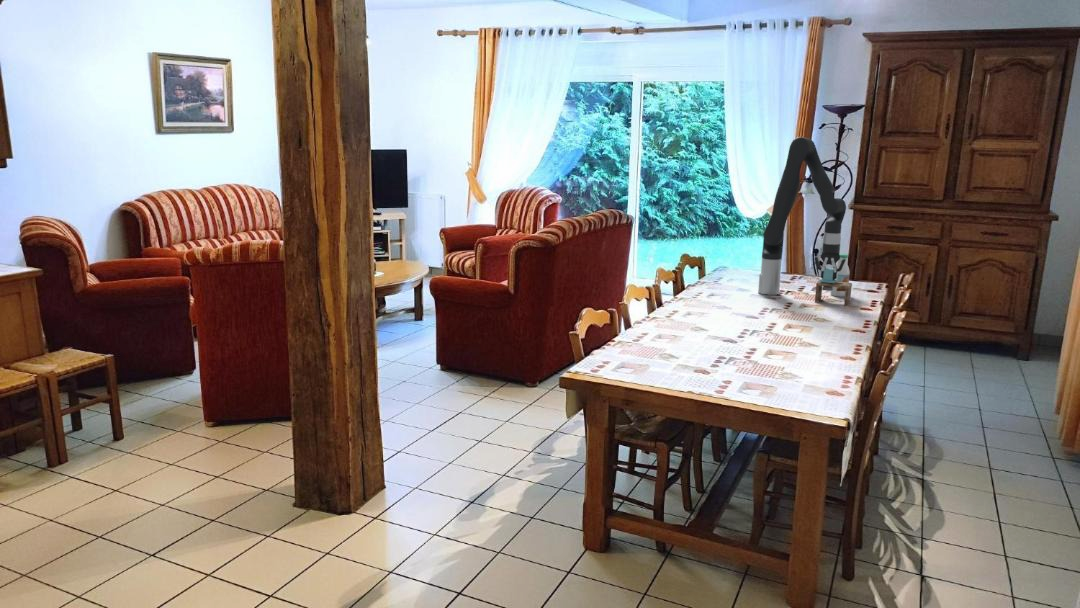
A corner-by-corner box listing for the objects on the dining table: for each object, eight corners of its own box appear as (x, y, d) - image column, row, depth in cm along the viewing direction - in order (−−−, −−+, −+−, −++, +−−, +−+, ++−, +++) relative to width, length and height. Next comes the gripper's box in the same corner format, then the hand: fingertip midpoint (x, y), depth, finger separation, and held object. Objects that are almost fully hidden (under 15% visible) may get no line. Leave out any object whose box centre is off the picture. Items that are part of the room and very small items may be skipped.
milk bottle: (829, 296, 368) (833, 254, 364) (831, 293, 375) (835, 252, 370) (846, 297, 365) (850, 256, 360) (848, 294, 371) (852, 253, 367)
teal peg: (818, 290, 354) (820, 269, 352) (821, 287, 360) (823, 267, 357) (833, 291, 351) (835, 270, 349) (836, 289, 356) (838, 268, 354)
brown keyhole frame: (814, 302, 355) (816, 283, 353) (818, 298, 362) (820, 279, 360) (846, 305, 348) (848, 286, 346) (850, 302, 355) (851, 283, 353)
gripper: (849, 242, 350) (846, 279, 354) (817, 240, 357) (813, 276, 361) (846, 244, 344) (843, 282, 347) (813, 242, 351) (810, 279, 354)
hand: (828, 279), depth 354 cm, fingers closed on teal peg, 4 cm apart
